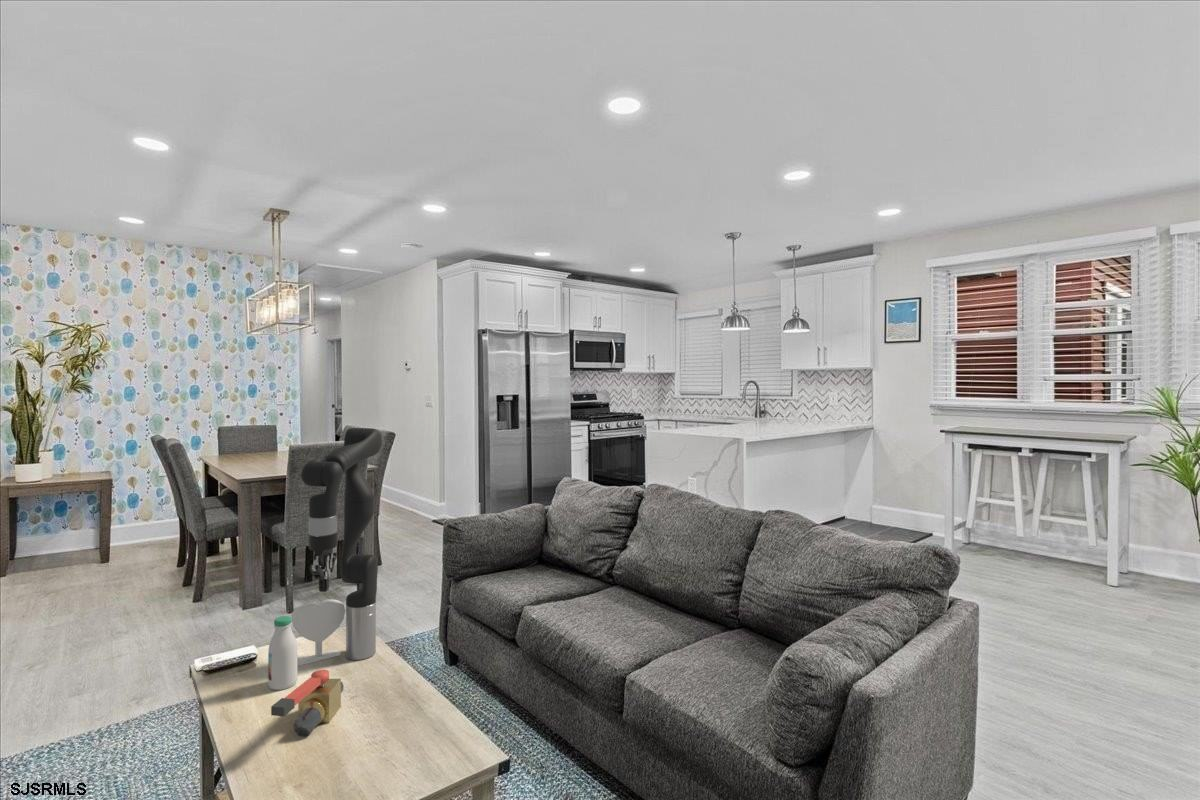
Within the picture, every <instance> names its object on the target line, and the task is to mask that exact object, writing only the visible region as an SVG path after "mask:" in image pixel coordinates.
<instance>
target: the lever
mask: <svg viewBox="0 0 1200 800" xmlns="http://www.w3.org/2000/svg"><path fill="white" fill-rule="evenodd" d="M329 679H330V671H329V670H327V669H317V670H315V671H313V672H312V673H311V676H310V677H309V678H308V679H307V680H305V681H304V682H302V683H301V684H300V685H299V686H298V687H297V688H295V689H294V690H293V691H291V692H290V693H288V695H286V696H285V697H281V698H280V699H278V700H277V701H276V702H275V703H274V704H272V705H271V707H270V716H274V717H285V716H286V715H288V714H289V713H290V712H292V710H294V709H295V706H296V705H298V703H299V702H300V701H301V700H302V699H304V698H305V697H306V696H307V695H308V694H310V693H311V692H312V691H313V690H314V689H316V688H317V687H318V686H319V685H320V684H324V683H326V682H328V681H329Z"/></svg>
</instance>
